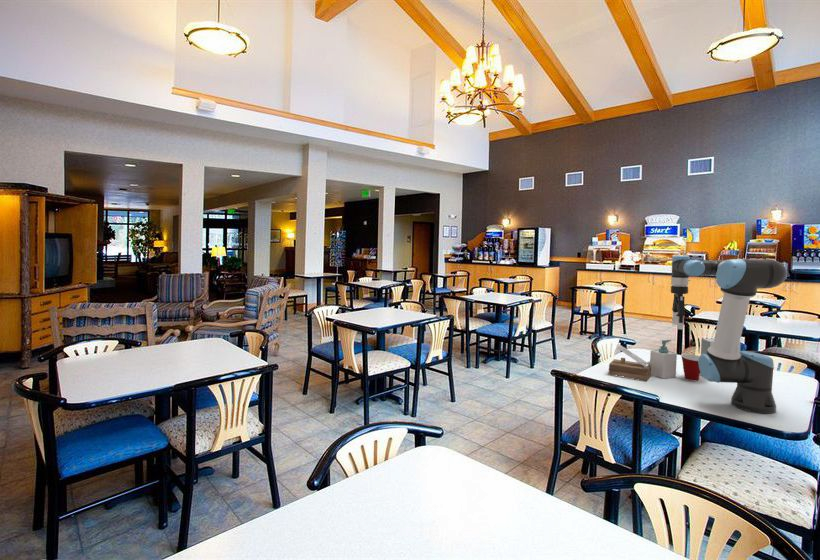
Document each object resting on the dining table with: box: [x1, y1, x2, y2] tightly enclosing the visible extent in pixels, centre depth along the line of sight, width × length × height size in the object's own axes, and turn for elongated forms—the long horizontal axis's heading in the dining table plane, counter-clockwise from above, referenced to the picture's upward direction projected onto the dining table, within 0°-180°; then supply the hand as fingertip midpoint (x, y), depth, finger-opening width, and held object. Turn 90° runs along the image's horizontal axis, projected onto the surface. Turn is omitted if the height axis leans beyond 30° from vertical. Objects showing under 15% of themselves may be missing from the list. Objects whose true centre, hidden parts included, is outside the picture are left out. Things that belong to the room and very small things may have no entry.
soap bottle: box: [649, 339, 678, 379], centre depth 229 cm, size 9×9×19 cm
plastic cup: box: [680, 353, 701, 381], centre depth 223 cm, size 11×11×12 cm
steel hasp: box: [617, 344, 649, 366], centre depth 229 cm, size 6×17×1 cm
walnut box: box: [608, 357, 652, 382], centre depth 230 cm, size 12×18×9 cm
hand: (677, 326), depth 223 cm, fingers open, 13 cm apart
